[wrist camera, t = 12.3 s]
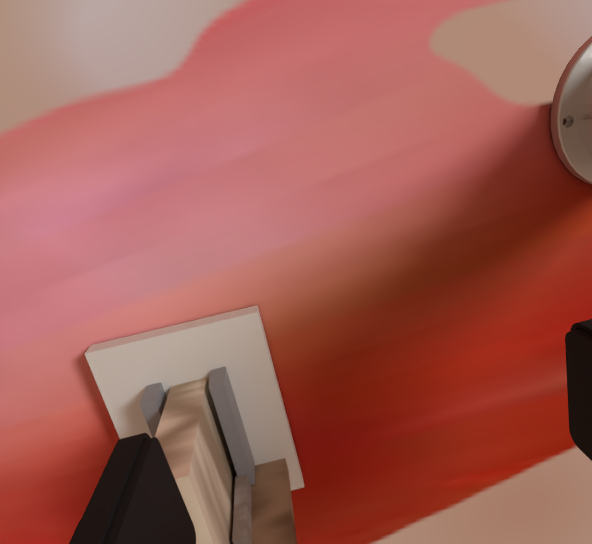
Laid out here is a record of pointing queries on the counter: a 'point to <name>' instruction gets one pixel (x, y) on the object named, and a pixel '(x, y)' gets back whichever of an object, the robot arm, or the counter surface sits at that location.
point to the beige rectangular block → (199, 459)
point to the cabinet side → (263, 506)
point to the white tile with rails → (197, 365)
